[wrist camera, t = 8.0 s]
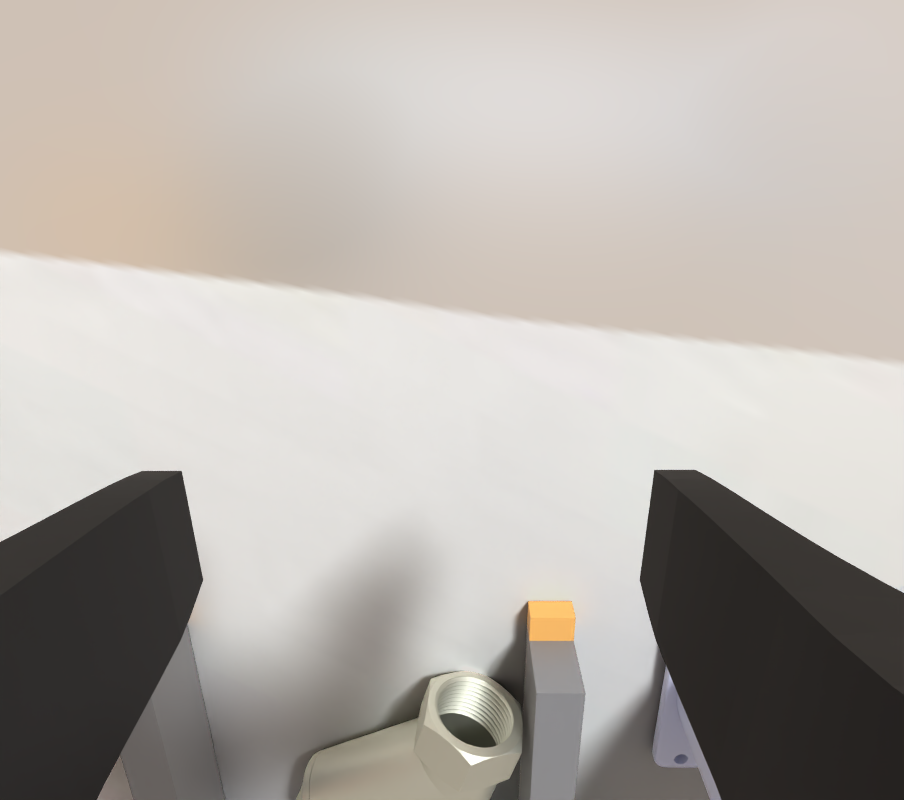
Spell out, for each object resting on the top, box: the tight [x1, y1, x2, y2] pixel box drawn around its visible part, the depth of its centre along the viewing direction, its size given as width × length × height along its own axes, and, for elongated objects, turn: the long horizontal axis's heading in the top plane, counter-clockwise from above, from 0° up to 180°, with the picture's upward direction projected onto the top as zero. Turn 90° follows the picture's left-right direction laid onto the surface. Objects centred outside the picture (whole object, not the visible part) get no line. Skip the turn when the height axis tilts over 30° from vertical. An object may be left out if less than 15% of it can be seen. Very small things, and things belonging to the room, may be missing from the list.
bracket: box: [120, 601, 585, 800], centre depth 24 cm, size 15×13×3 cm
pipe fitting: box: [296, 671, 523, 800], centre depth 24 cm, size 8×4×7 cm
